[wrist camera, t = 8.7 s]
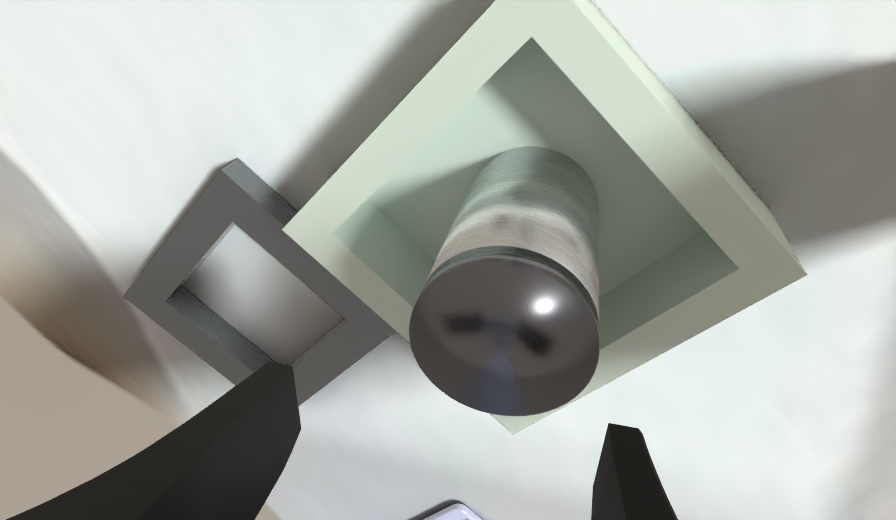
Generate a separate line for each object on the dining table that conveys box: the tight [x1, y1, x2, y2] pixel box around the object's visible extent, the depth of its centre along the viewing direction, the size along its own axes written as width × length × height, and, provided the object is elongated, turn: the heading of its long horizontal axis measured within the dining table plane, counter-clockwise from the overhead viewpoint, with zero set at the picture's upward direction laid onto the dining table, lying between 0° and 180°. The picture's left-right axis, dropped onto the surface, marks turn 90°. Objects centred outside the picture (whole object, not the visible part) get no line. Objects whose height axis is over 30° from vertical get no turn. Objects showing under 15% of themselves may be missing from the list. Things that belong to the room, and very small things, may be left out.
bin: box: [282, 0, 807, 434], centre depth 19 cm, size 11×11×4 cm
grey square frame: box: [123, 158, 396, 406], centre depth 25 cm, size 9×9×1 cm
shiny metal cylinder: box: [409, 146, 599, 416], centre depth 17 cm, size 4×4×7 cm
